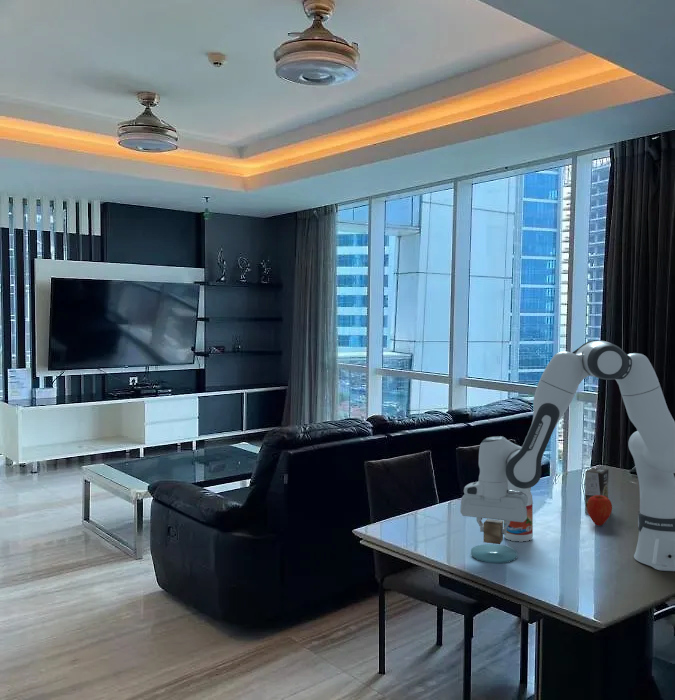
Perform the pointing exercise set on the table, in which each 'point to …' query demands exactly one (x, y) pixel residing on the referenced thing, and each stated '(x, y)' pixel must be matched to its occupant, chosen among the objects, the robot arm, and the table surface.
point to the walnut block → (493, 531)
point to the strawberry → (599, 509)
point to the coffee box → (595, 484)
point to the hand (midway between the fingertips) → (493, 532)
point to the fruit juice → (521, 529)
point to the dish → (494, 553)
